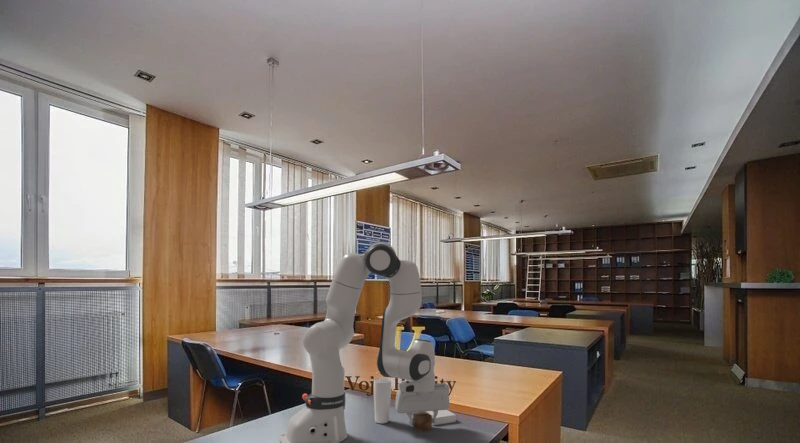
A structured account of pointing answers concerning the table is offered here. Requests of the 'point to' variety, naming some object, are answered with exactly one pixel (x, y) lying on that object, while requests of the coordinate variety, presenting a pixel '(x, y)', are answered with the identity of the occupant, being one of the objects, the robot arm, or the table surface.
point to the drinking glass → (382, 399)
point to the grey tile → (443, 417)
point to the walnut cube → (422, 421)
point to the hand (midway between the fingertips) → (422, 423)
